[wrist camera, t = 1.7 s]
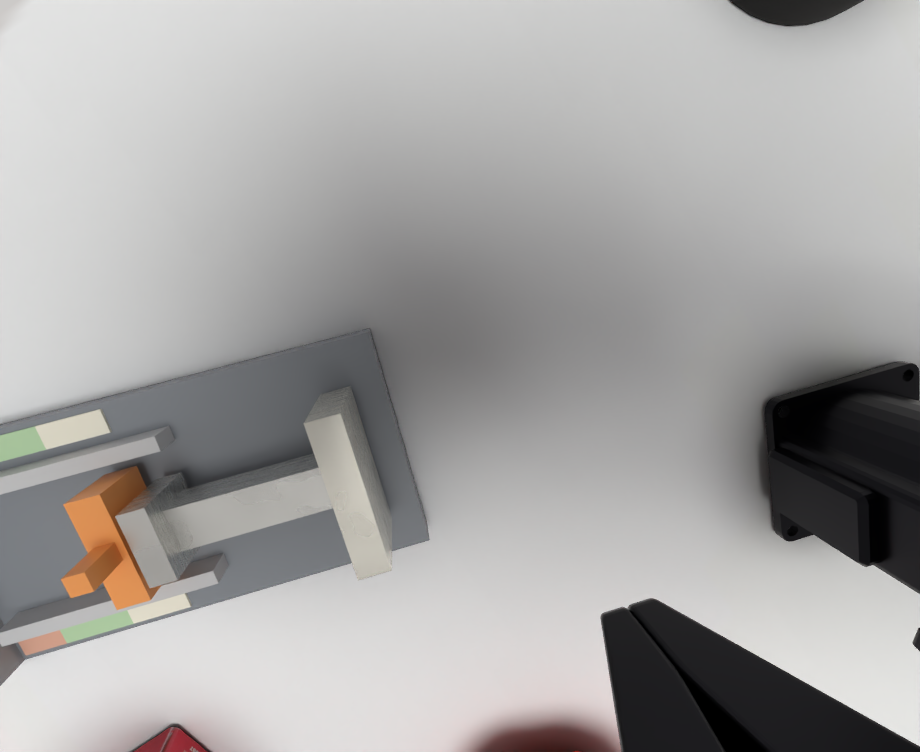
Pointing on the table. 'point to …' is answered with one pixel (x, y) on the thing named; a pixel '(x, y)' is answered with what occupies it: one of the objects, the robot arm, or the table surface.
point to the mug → (795, 10)
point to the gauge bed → (201, 461)
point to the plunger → (270, 500)
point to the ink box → (171, 742)
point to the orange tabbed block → (107, 541)
